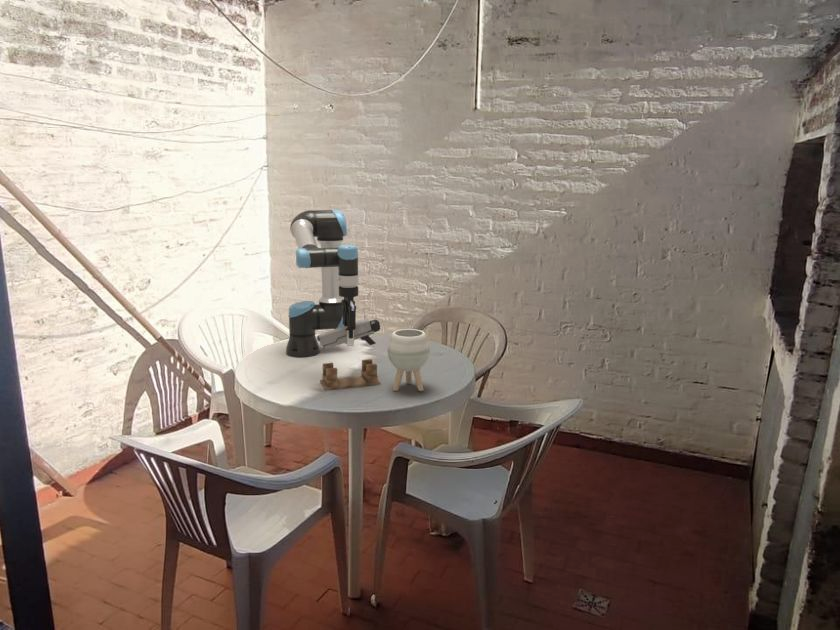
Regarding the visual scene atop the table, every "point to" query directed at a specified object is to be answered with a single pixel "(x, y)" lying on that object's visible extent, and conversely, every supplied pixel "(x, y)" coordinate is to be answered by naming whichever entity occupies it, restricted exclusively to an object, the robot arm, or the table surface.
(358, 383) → the display stand
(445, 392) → the table surface
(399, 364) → the planter
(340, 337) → the gun
